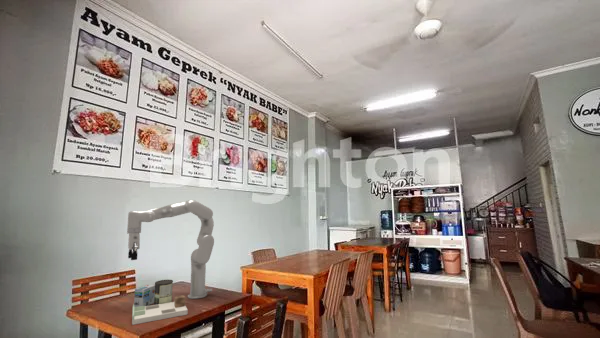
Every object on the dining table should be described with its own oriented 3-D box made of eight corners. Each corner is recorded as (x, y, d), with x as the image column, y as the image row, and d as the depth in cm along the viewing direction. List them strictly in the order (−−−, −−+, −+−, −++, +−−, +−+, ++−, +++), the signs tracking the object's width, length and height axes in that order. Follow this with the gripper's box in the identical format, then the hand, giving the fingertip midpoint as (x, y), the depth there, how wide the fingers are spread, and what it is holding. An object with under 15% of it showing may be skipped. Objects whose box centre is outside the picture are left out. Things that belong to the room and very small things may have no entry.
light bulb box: (142, 308, 171) (143, 289, 173) (133, 307, 172) (134, 289, 174) (155, 302, 181) (155, 284, 183) (145, 301, 183) (146, 284, 184)
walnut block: (183, 303, 170) (183, 295, 171) (184, 306, 166) (185, 297, 166) (174, 305, 167) (174, 296, 168) (175, 307, 163) (175, 298, 164)
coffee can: (150, 307, 171) (151, 283, 173) (159, 302, 181) (160, 279, 183) (166, 307, 171) (168, 283, 173) (174, 302, 181) (175, 279, 183)
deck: (182, 304, 176) (182, 297, 177) (187, 314, 159) (187, 306, 160) (132, 313, 163) (132, 304, 163) (132, 324, 146) (132, 315, 146)
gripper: (143, 231, 173) (142, 259, 170) (138, 229, 186) (136, 256, 184) (129, 231, 168) (127, 261, 166) (125, 230, 181) (123, 258, 179)
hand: (132, 258), depth 175 cm, fingers open, 9 cm apart
